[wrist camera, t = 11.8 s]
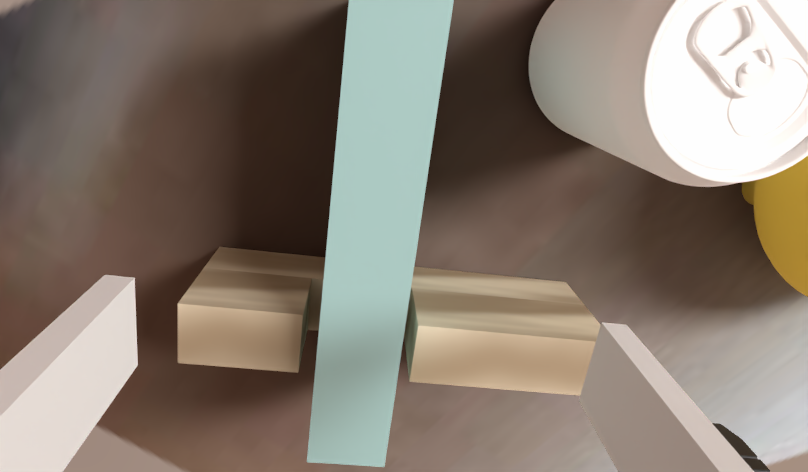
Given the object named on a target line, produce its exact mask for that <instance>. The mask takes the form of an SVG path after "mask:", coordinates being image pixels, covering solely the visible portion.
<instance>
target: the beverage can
mask: <svg viewBox="0 0 808 472" xmlns="http://www.w3.org/2000/svg"><path fill="white" fill-rule="evenodd" d="M529 79H530V85H531V89H532V92H533V95H534V98H535V100H536V102H537V104H538V106H539V107H540V109H541V111H542V112H543V113H544V115H545V116H546V117H547V118H548V119H549V120H550V121H551V122H552V123H553V124H554V125H555V126H556V127H558V128H559V129H561V130H562V131H564V132H566V133H568V134H570V135H572V136H574V137H576V138H578V139H580V140H583V141H585V142H587V143H589V144H591V145H593V146H595V147H598V148H600V149H602V150H604V151H606V152H608V153H610V154H612V155H615V156H617V157H619V158H621V159H623V160H625V161H627V162H630V163H632V164H634V165H636V166H638V167H640V168H642V169H645V170H647V171H649V172H651V173H653V174H655V175H657V176H660V177H662V178H664V179H666V180H669V181H672V182H675V183H679V184H683V185H689V186H697V187H715V186H724V185H730V184H735V183H741V182H749V181H754V180H759V179H762V178H766V177H769V176H771V175H774V174H777V173H779V172H781V171H783V170H785V169H787V168H789V167H791V166H793V165H794V164H796V163H798V162H799V161H801V160H802V159H804V158H805V157H806V156H808V0H555V1H554V2H553V3H552V4H551V5H550V7H549V8H548V9H547V11H546V12H545V14H544V15H543V17H542V19H541V20H540V22H539V24H538V26H537V29H536V31H535V34H534V37H533V40H532V43H531V48H530V53H529Z"/></svg>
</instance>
